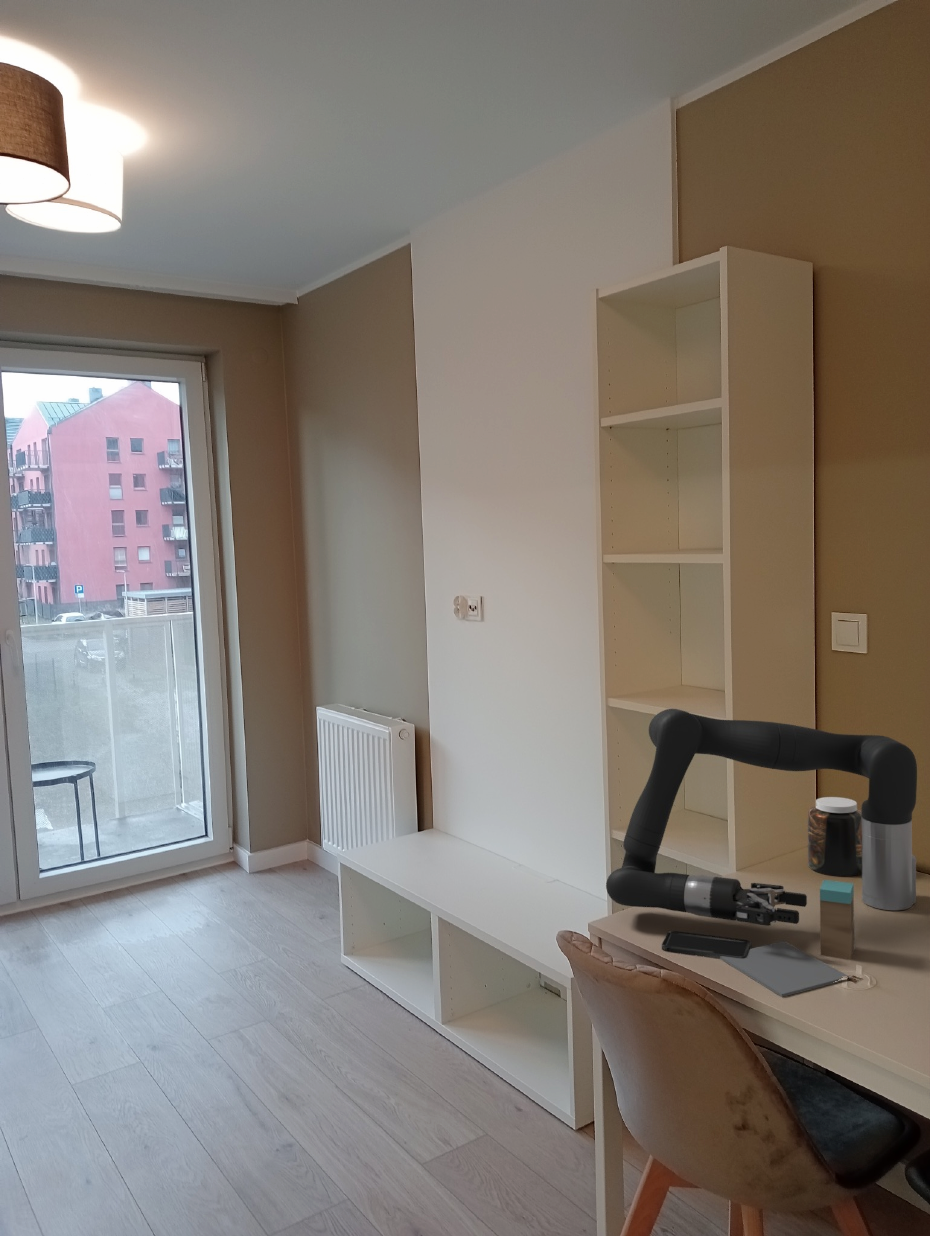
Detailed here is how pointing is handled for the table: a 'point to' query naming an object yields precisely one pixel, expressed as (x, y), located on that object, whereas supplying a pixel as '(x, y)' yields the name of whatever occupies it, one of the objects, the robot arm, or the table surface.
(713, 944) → the phone
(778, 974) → the grey mat
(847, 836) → the jar
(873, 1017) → the table surface
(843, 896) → the walnut block
